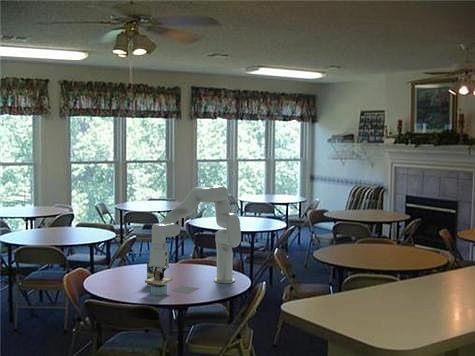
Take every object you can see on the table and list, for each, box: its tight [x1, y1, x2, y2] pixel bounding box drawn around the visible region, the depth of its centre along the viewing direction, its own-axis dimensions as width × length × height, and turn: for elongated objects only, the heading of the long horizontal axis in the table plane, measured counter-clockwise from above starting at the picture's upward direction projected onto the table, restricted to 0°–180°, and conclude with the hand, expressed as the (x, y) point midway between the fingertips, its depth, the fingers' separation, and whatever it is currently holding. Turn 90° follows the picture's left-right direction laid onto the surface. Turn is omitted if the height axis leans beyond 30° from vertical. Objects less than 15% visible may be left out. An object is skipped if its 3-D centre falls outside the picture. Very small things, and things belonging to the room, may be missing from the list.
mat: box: [171, 285, 200, 295], centre depth 322 cm, size 12×12×1 cm
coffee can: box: [146, 259, 160, 287], centre depth 334 cm, size 10×10×14 cm
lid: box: [144, 270, 173, 285], centre depth 315 cm, size 11×11×6 cm
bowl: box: [150, 283, 168, 296], centre depth 315 cm, size 9×9×4 cm
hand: (158, 278), depth 315 cm, fingers closed on lid, 3 cm apart
